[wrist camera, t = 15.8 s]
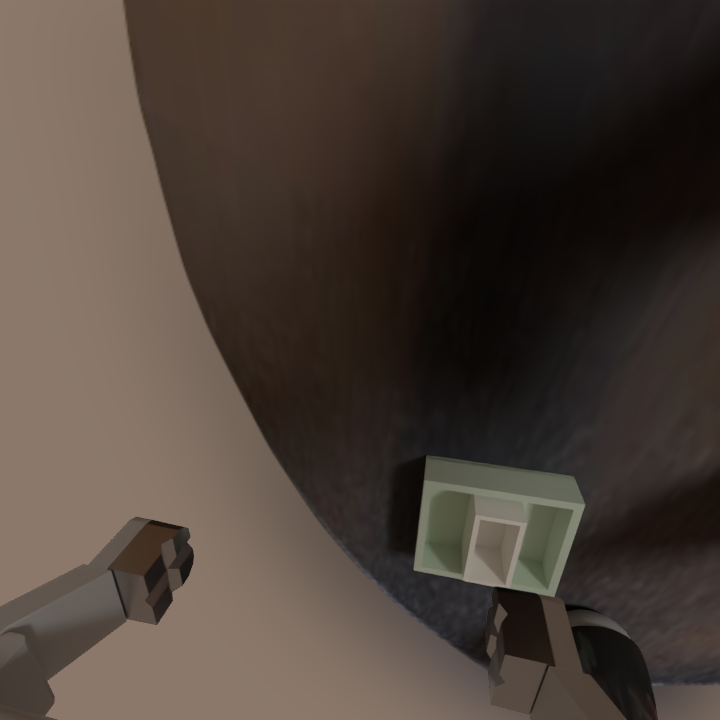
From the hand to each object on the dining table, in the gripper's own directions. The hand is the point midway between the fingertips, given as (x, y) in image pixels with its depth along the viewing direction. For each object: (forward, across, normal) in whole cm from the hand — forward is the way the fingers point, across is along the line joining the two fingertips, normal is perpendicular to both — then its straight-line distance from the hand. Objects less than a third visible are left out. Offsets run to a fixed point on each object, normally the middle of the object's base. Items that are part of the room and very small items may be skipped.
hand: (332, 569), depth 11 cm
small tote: (+28, -10, +24) cm, 39 cm away
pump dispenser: (+29, -23, +39) cm, 54 cm away
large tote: (+29, -10, +24) cm, 39 cm away
